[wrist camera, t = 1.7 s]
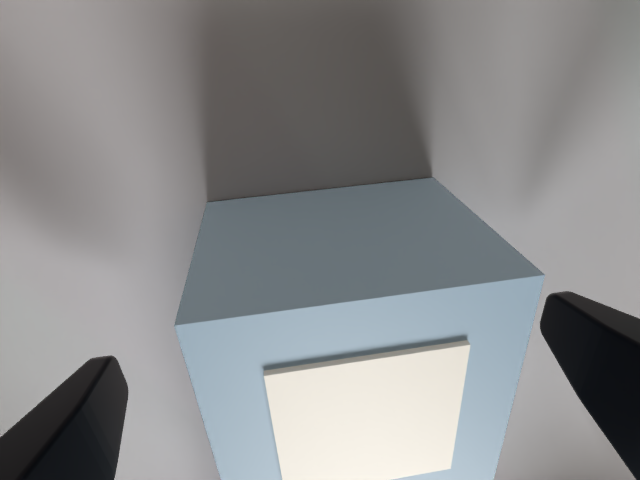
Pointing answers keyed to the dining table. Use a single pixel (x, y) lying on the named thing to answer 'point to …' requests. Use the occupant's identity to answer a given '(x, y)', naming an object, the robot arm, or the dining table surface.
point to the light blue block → (355, 334)
